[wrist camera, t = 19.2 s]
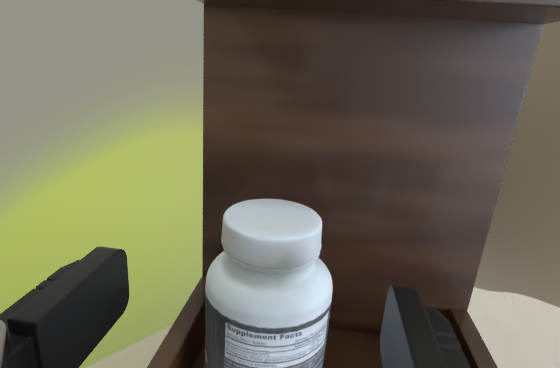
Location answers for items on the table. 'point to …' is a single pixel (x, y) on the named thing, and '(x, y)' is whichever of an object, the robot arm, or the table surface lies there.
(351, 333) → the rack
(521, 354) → the table surface
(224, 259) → the pill bottle
